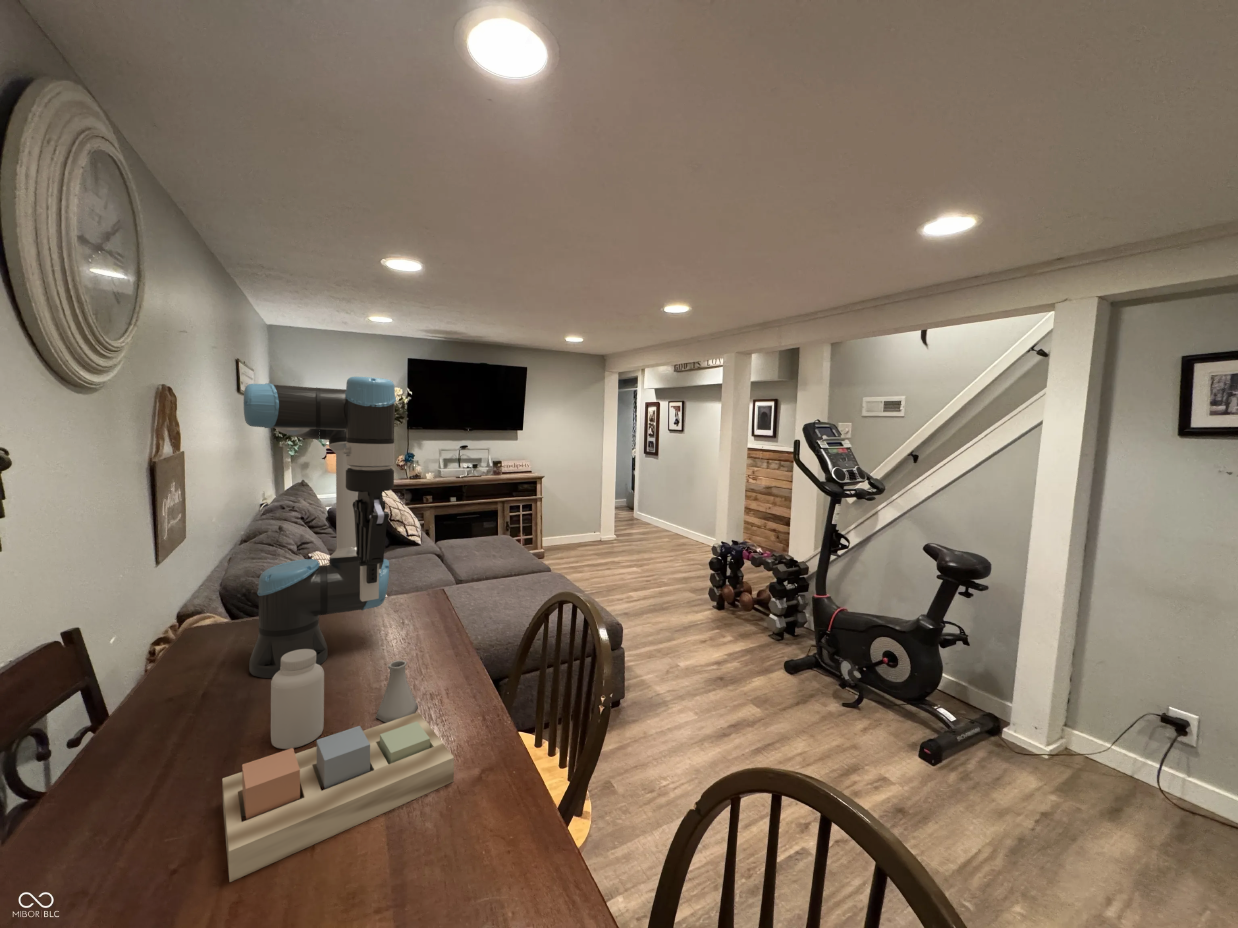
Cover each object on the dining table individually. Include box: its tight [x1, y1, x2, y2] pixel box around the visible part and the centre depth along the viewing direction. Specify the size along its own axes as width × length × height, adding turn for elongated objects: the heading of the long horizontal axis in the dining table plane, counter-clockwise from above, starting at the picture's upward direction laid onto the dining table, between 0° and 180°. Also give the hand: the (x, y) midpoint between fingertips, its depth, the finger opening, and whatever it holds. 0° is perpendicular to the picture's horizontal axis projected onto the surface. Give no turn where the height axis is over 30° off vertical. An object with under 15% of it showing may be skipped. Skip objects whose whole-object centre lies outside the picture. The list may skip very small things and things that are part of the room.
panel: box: [221, 711, 455, 883], centre depth 75 cm, size 16×28×4 cm, turn 131°
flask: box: [375, 659, 419, 723], centre depth 96 cm, size 7×7×10 cm
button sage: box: [380, 722, 430, 764], centre depth 81 cm, size 6×6×4 cm
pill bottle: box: [270, 649, 325, 750], centre depth 87 cm, size 8×8×15 cm
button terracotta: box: [241, 748, 300, 820], centre depth 69 cm, size 6×6×4 cm
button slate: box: [316, 725, 370, 789], centre depth 74 cm, size 6×6×4 cm
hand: (369, 598), depth 87 cm, fingers closed
